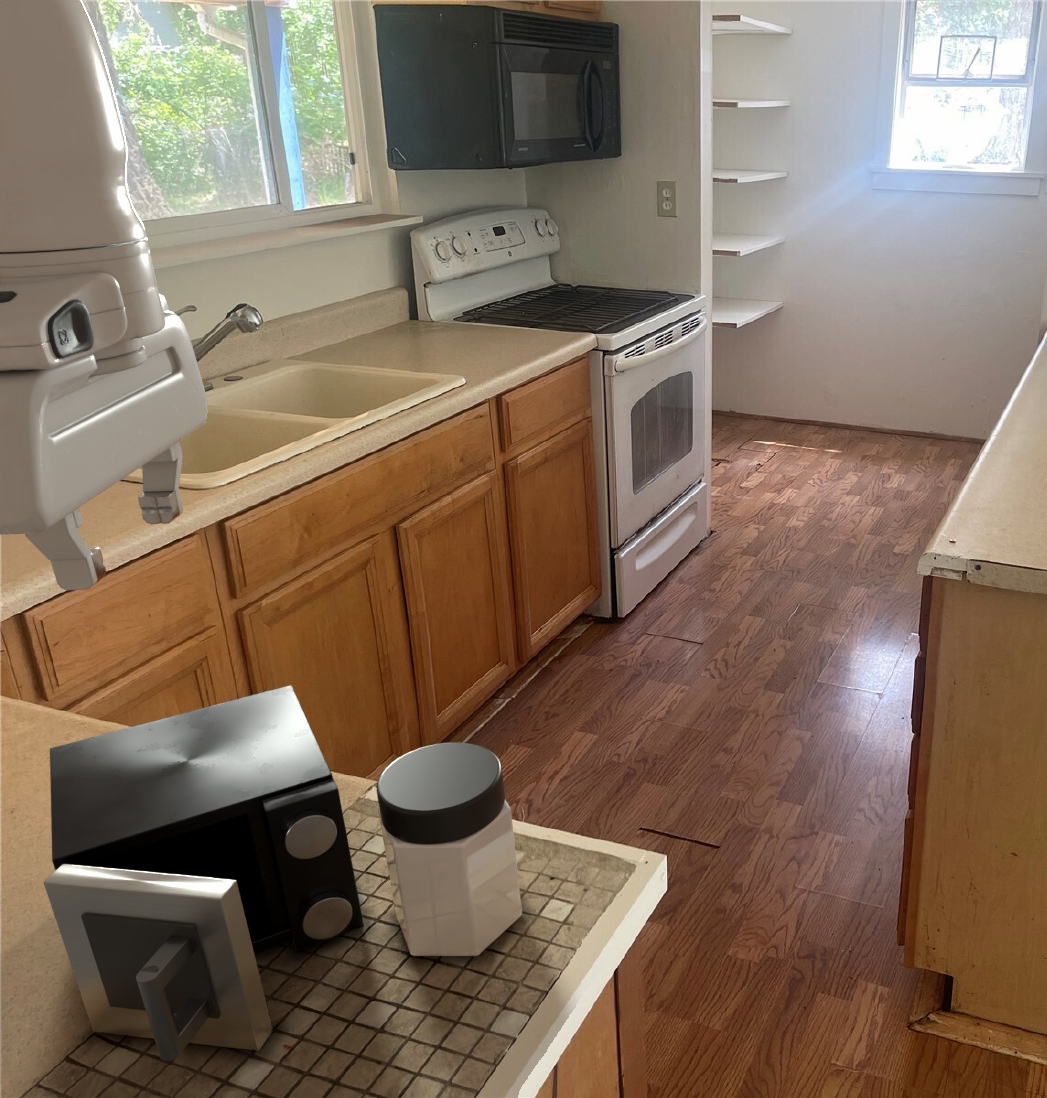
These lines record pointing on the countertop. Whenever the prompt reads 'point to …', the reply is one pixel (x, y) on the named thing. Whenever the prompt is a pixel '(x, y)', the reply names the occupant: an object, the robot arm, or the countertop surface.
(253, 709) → the oven
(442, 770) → the jar
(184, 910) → the oven door
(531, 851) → the countertop surface
